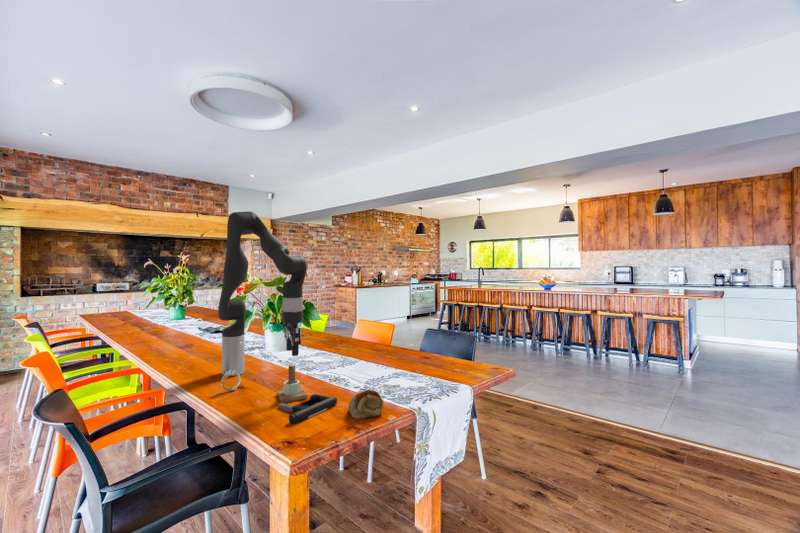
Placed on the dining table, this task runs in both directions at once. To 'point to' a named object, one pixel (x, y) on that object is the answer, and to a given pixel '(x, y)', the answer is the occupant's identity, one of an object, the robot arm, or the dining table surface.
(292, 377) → the ring stand
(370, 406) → the pastry
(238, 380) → the bracelet
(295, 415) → the door handle
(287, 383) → the napkin ring
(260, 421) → the dining table surface
